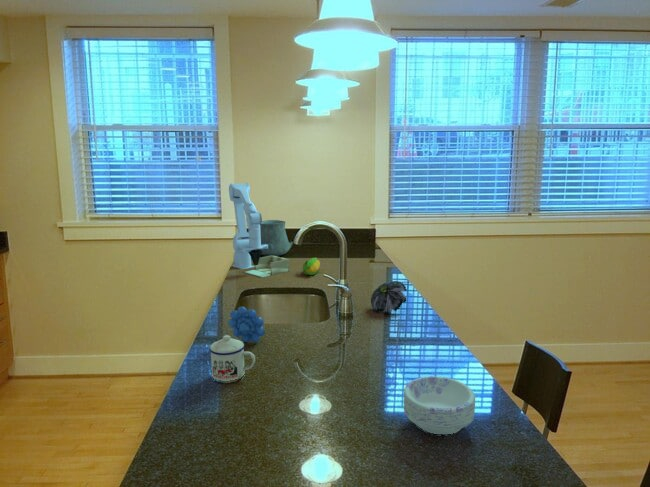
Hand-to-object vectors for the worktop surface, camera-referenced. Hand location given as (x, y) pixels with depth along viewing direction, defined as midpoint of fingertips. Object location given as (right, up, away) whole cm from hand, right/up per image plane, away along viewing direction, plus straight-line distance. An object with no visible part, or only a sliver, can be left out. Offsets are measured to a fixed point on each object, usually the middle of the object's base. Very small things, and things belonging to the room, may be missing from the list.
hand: (255, 264), depth 242 cm
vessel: (+4, +3, +48) cm, 49 cm away
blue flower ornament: (+9, -22, -86) cm, 89 cm away
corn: (+28, -4, +5) cm, 29 cm away
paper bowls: (+59, -30, -133) cm, 148 cm away
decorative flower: (+58, -15, -54) cm, 80 cm away
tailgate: (+3, -4, +3) cm, 6 cm away
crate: (+7, -4, +7) cm, 11 cm away
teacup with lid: (+9, -26, -109) cm, 112 cm away
